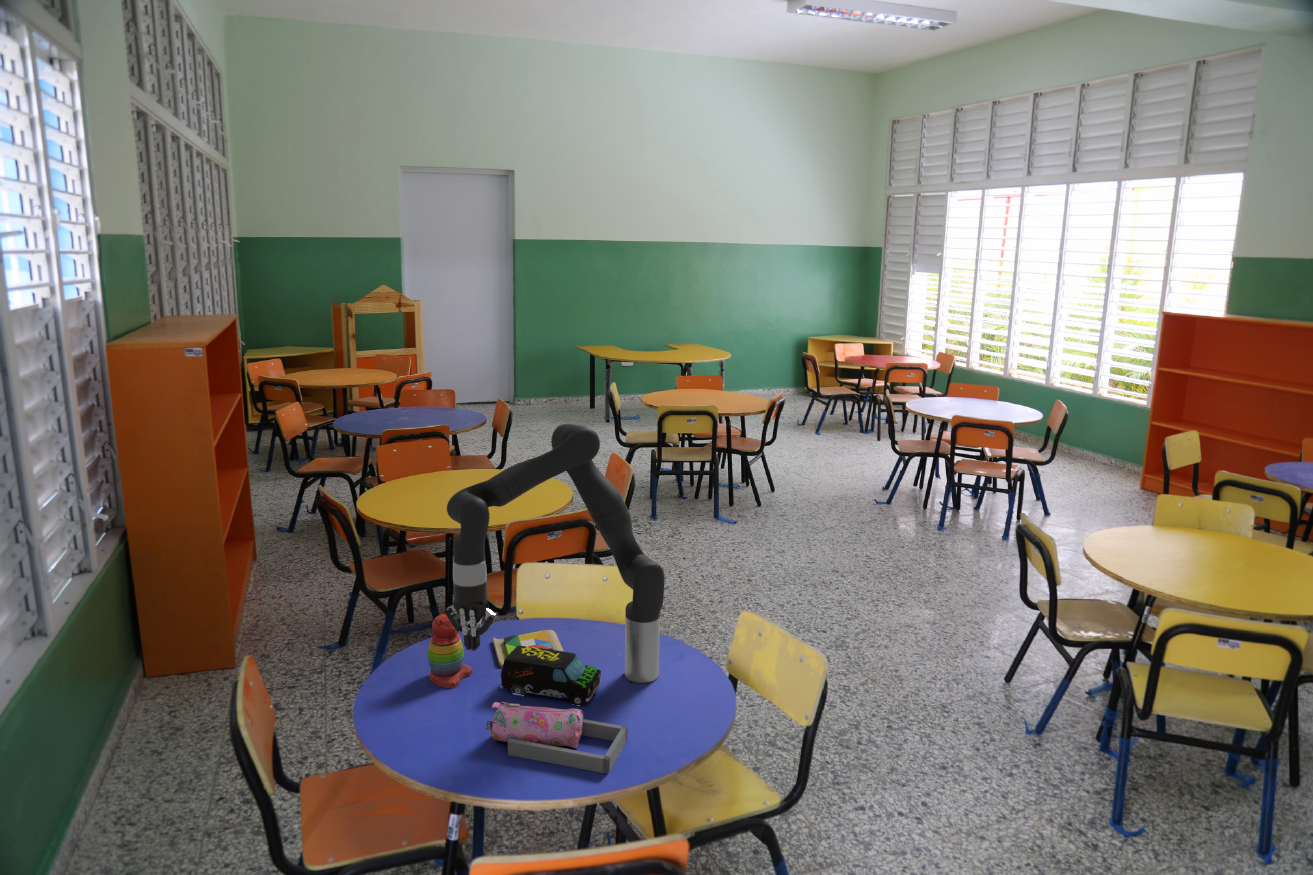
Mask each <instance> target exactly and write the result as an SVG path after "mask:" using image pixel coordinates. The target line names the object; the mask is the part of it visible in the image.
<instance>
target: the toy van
mask: <svg viewBox="0 0 1313 875" xmlns="http://www.w3.org/2000/svg"><path fill="white" fill-rule="evenodd" d="M601 672H602V671H601V670H600V668H598V667H594V666H589V665H586V664H585V663H584V662H583V661H582V659H580V657H579V656H578V655H577V654H576V653H574V652H568V651H564V650H563V651H557V650H550V649H543V648H536V647H527V646H517V647H516V648H515V649H514V650H513V651H512V652H511V653H510V654H509V655H508V656H507V657H506V658H505V660H504V663H503V667H501V671H500V682H501V684H500V685H499V687H500V688H501V689H505V690H510V692H511V694H512V693H517V694H521V695H525V696H526V695H527V694H533V695H537V696H544V697H551V698H558V699H565V700H569V702H570V705H572V704H574V705H580V707H584V706H585V705H586V703H589V702H590V701H591V699H592V698H593V697H594V695H595V693H596V692H597V690H598V689H599V688H600V684H601V682H602V680H601V676H602V675H601ZM574 705H573V706H574Z"/></svg>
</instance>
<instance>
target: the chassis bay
mask: <svg viewBox="0 0 1313 875" xmlns="http://www.w3.org/2000/svg"><path fill="white" fill-rule="evenodd" d="M581 736H585V737H590V738H595V739H600V740H607V741H612V743H611V745H610V746H609V748H608V750H607V751H606V753H605V754H604V755H603V754H596V753H591V752H586V751H580V750H575V749H570V748H566V747H565V748H564V747H561V746H552V745H544V744H539V743H533V742H528V741H523V740H517V739H512V738H510V739H509V740H508V742H507V755H508V756H511V757H516V758H517V757H518V758H522V759H527V760H528V759H529V760H531V761H538V762H543V763H550V764H554V765H558V766H563V767H569V768H575V769H579V770H585V771H590V772H596V773H602V774H606V775H609V773H610V772H611V771H612V768H613V766H614V764H615V763H616V761H617V760H618V758H619V756H620V754H621V752H622V750H623V749H624V747H625V745H626V743H627V742H628V726H625V725H618V724H613V723H607V722H601V721H596V720H591V719H586V718H583V724H582V733H581Z"/></svg>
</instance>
